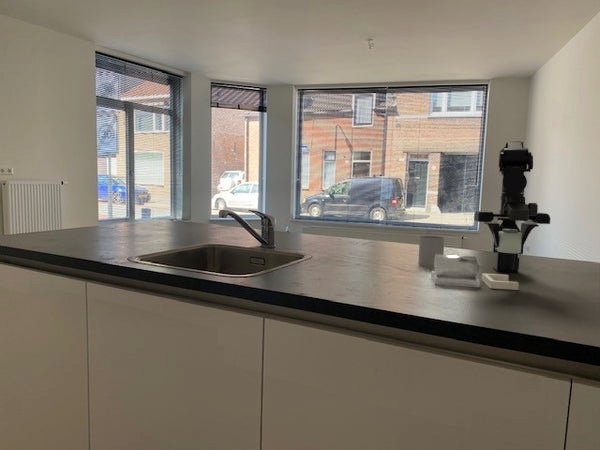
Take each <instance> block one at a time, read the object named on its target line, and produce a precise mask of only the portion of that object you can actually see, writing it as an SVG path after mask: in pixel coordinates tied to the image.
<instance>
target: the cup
mask: <svg viewBox="0 0 600 450" xmlns="http://www.w3.org/2000/svg"><path fill="white" fill-rule="evenodd" d="M418 244H419V245H418V265H419V266H423V267H426V268H427V267H428V268H434V260H435V255H436V254H439V255H445V253H444V252H445V237H444V236H438V235H420V236H419V242H418Z"/></svg>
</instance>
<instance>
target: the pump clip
mask: <svg viewBox="0 0 600 450" xmlns="http://www.w3.org/2000/svg"><path fill="white" fill-rule="evenodd" d="M509 276H510V275H508V274H501V273H500V274H498V273H482V274H481V281H482V282H483V283H484V284H485V285H486V286H487V287H488V288H489V289H497V290H512V291H513V290H514V291H516V290H517V291H519V282H518V281H511V280H509V278H510V277H509Z"/></svg>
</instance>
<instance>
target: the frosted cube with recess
mask: <svg viewBox="0 0 600 450" xmlns="http://www.w3.org/2000/svg"><path fill="white" fill-rule="evenodd" d="M521 241H522V233H520V232H518V230H516V229H503V231H499V247H498V248H496V249H497V251H498V252H503V253H521Z"/></svg>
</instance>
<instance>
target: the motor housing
mask: <svg viewBox="0 0 600 450" xmlns="http://www.w3.org/2000/svg"><path fill="white" fill-rule="evenodd" d="M479 271H480V266H479V264H478V259H477V256H475V255H459V254H458V255H456V254H444V255H439V254H436V255H435V260H434V267H433V270H431V280H432V282H433V283H434V285H436V286H451V287H466V288H480V283H481V282H480V281H481V280H480V278H478V277H477V275H478V273H479Z"/></svg>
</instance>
